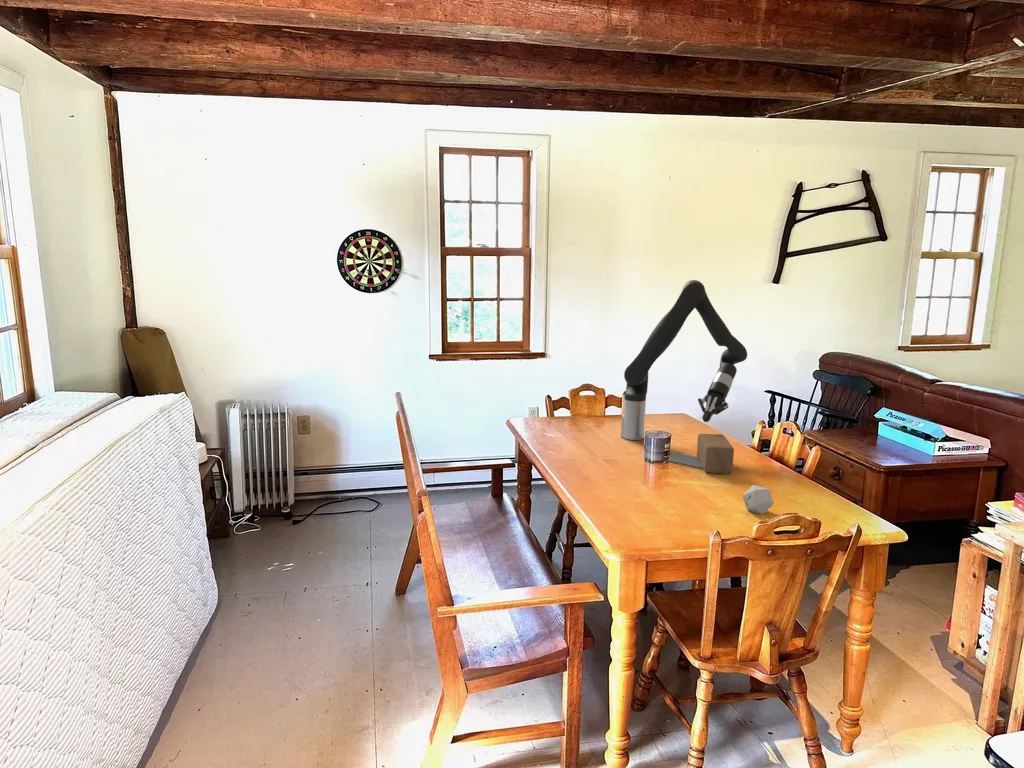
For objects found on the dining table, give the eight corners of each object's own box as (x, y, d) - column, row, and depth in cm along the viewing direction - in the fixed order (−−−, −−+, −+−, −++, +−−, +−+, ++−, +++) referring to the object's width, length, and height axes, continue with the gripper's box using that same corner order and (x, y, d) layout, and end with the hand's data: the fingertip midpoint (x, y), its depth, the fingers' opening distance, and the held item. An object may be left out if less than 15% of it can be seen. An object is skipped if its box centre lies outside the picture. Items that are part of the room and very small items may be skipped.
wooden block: (723, 433, 266) (734, 447, 246) (722, 458, 267) (732, 474, 248) (697, 432, 267) (706, 446, 247) (696, 457, 268) (704, 472, 249)
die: (741, 506, 219) (735, 488, 213) (765, 494, 218) (759, 475, 213) (756, 524, 212) (750, 505, 206) (780, 511, 212) (775, 492, 206)
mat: (661, 460, 266) (661, 458, 266) (676, 453, 275) (676, 452, 275) (709, 471, 253) (710, 469, 253) (723, 464, 262) (723, 462, 262)
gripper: (702, 378, 277) (686, 412, 270) (734, 382, 268) (718, 418, 261) (707, 389, 282) (692, 423, 275) (738, 394, 273) (723, 429, 266)
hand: (705, 420), depth 268 cm, fingers closed
